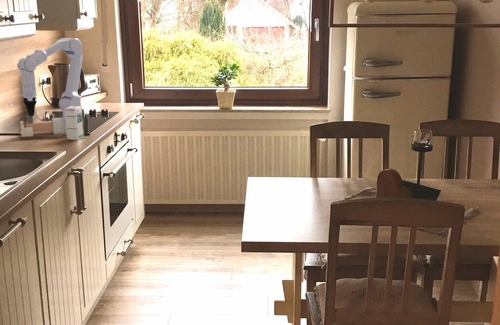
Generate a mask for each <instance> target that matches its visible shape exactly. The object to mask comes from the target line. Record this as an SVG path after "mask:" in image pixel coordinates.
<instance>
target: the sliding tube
mask: <svg viewBox="0 0 500 325" xmlns="http://www.w3.org/2000/svg"><path fill="white" fill-rule="evenodd" d="M33 117H34V116H29V115H28V114H26V122H23V125H24V127H32V128H33V132H48V131H53V121H52V120H49V121H48V120H46V121H34V118H33Z"/></svg>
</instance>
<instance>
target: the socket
mask: <svg viewBox="0 0 500 325" xmlns="http://www.w3.org/2000/svg"><path fill="white" fill-rule="evenodd" d="M20 130H21V132H20V133H22V137H26V136H33V128H32V127H24V121H20Z"/></svg>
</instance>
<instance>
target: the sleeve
mask: <svg viewBox="0 0 500 325" xmlns="http://www.w3.org/2000/svg"><path fill="white" fill-rule="evenodd" d="M51 119H52V120H51V121H53V134H54V135H57V134H67V132H66V121H65V117H63V116H62V117H52V118H51Z"/></svg>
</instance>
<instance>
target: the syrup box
mask: <svg viewBox="0 0 500 325" xmlns="http://www.w3.org/2000/svg"><path fill="white" fill-rule="evenodd" d="M83 118H84V117H83V108H82V106H81V107H80V106H70V107H68V108H65V121H66V132H67V137H66V140H75V141H79V140H81V139H83V138H85V130H84V119H83Z"/></svg>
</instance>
